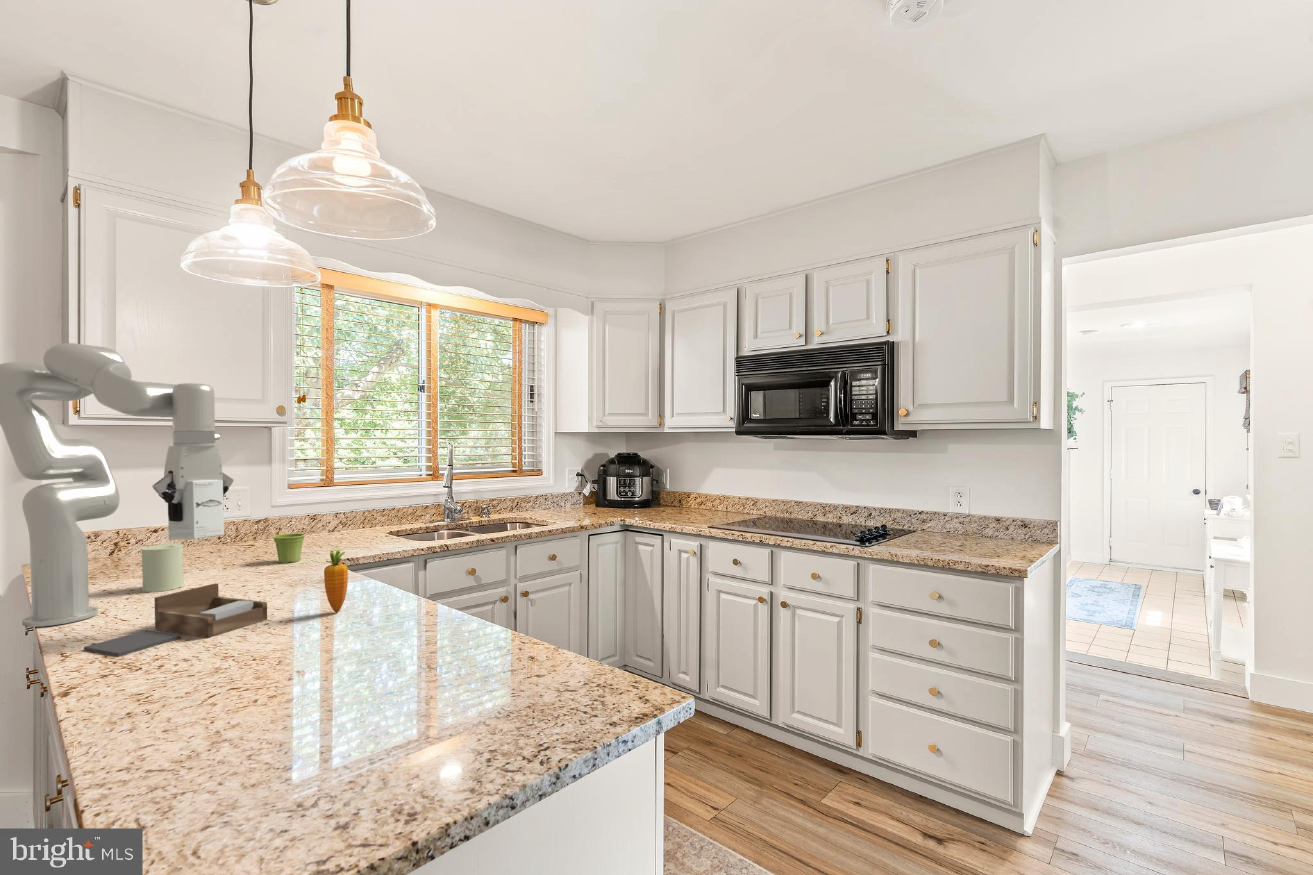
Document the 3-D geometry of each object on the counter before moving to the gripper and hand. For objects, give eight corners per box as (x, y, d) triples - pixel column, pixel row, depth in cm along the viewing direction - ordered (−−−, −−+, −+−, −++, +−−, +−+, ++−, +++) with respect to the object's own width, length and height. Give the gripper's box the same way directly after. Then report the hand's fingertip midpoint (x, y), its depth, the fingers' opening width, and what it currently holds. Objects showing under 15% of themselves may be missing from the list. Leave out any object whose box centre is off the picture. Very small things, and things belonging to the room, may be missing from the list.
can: (166, 592, 167) (165, 547, 167) (132, 592, 168) (131, 548, 167) (192, 583, 177) (191, 541, 177) (160, 584, 177) (159, 542, 177)
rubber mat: (83, 649, 123) (83, 646, 123) (146, 632, 133) (146, 629, 133) (118, 656, 119) (118, 653, 119) (180, 638, 129) (180, 635, 129)
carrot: (325, 611, 147) (324, 548, 147) (349, 608, 149) (348, 546, 149) (323, 617, 142) (322, 551, 142) (348, 614, 144) (346, 549, 144)
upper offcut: (199, 624, 132) (199, 612, 132) (238, 611, 141) (238, 600, 141) (215, 625, 131) (215, 613, 131) (253, 612, 141) (253, 601, 141)
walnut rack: (155, 629, 135) (154, 597, 135) (216, 612, 147) (215, 583, 147) (208, 637, 129) (207, 604, 129) (267, 619, 141) (266, 588, 141)
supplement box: (193, 539, 133) (191, 480, 134) (167, 540, 135) (165, 482, 136) (225, 535, 140) (223, 479, 141) (200, 535, 142) (198, 480, 143)
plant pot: (287, 558, 211) (286, 532, 211) (312, 558, 210) (311, 533, 210) (266, 564, 202) (265, 537, 202) (292, 564, 201) (292, 537, 201)
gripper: (221, 438, 147) (222, 512, 148) (139, 440, 131) (140, 523, 131) (244, 438, 145) (245, 514, 145) (163, 440, 128) (164, 525, 129)
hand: (195, 518), depth 138 cm, fingers closed on supplement box, 7 cm apart
